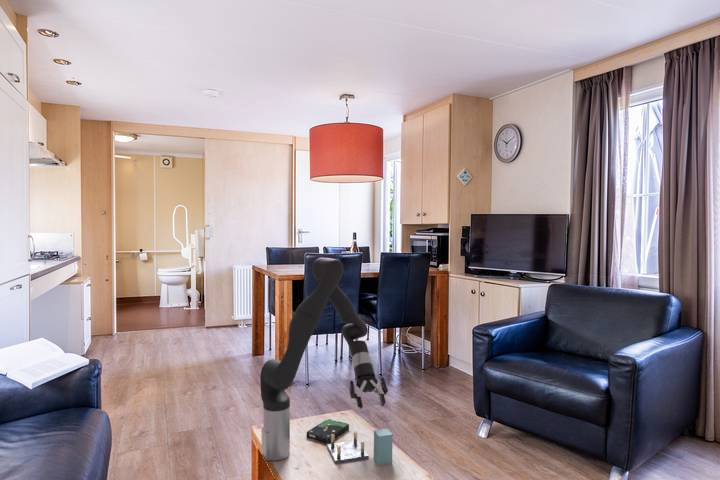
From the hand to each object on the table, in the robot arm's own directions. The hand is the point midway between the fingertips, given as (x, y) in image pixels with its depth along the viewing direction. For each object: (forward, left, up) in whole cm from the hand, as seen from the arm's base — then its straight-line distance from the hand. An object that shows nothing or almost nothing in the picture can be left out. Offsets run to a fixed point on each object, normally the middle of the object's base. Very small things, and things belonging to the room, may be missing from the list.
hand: (372, 406), depth 168 cm
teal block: (-2, -11, -15) cm, 18 cm away
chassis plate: (-10, -1, -14) cm, 18 cm away
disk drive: (-11, +16, -15) cm, 25 cm away
